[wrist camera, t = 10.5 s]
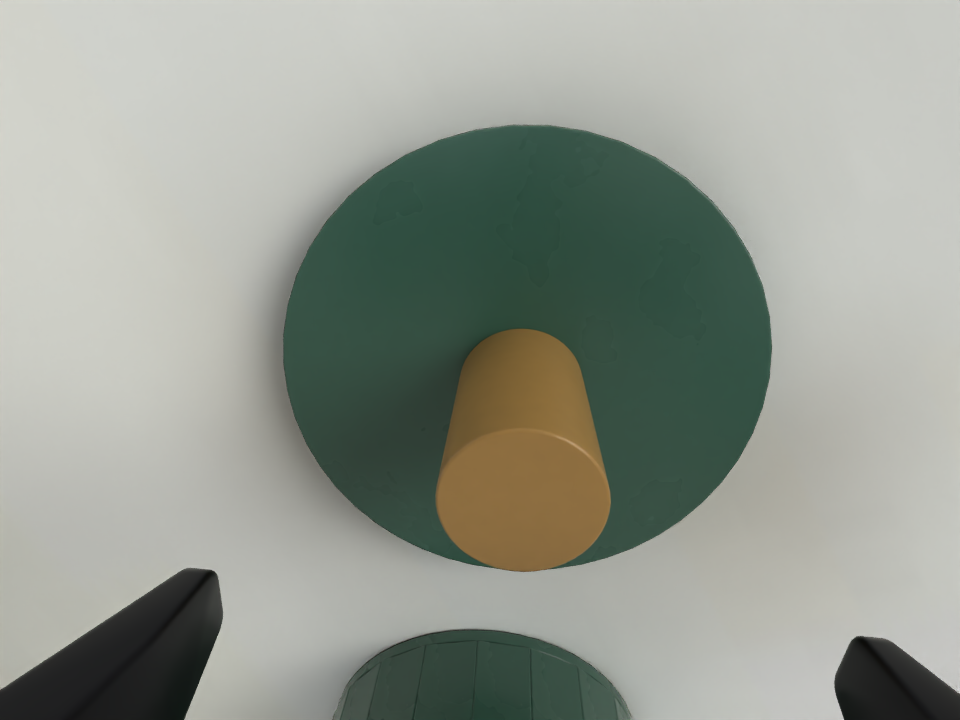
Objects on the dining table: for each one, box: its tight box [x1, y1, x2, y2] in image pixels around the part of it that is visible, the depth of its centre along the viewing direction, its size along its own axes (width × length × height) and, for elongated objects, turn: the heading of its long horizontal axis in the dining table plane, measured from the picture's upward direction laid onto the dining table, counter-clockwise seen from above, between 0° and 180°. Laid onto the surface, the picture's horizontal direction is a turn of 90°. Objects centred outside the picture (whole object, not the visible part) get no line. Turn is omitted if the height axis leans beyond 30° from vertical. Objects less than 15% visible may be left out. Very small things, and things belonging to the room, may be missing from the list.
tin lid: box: [283, 125, 772, 572], centre depth 13 cm, size 13×13×6 cm
